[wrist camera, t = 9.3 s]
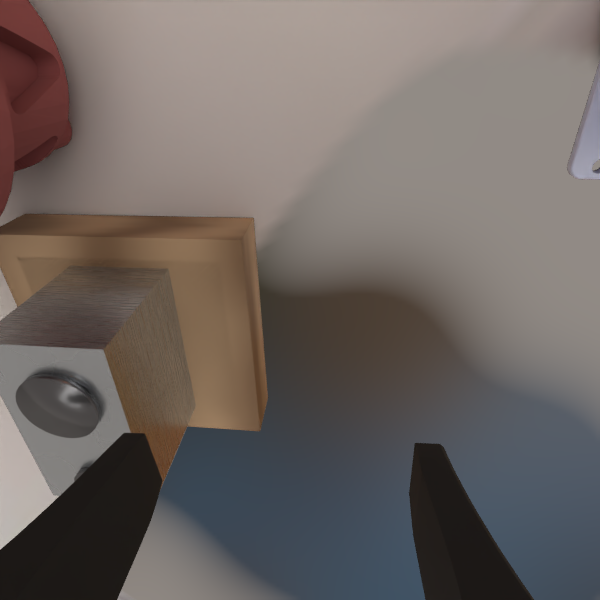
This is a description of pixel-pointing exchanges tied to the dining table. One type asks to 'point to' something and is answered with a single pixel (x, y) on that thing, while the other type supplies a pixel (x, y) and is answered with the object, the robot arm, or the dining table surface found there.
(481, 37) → the dining table surface
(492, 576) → the robot arm
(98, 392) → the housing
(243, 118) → the dining table surface
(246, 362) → the stand
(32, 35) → the mechanical component
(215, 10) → the dining table surface
